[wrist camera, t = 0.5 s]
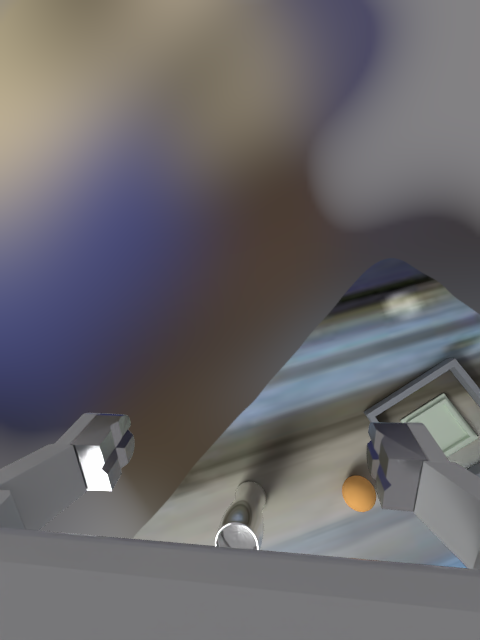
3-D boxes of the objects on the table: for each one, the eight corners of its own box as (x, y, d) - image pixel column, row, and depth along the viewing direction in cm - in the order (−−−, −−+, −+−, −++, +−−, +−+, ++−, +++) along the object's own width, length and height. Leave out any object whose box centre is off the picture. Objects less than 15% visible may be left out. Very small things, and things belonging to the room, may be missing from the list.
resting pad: (477, 437, 53) (481, 439, 52) (432, 464, 54) (435, 467, 53) (442, 392, 55) (446, 393, 54) (399, 420, 56) (402, 421, 54)
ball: (377, 492, 55) (387, 507, 50) (352, 508, 56) (358, 525, 50) (359, 464, 56) (366, 477, 51) (333, 480, 57) (338, 494, 51)
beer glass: (268, 480, 58) (260, 523, 44) (268, 518, 58) (260, 576, 43) (233, 477, 60) (213, 518, 45) (232, 514, 59) (212, 569, 44)
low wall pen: (518, 446, 52) (529, 451, 50) (427, 501, 54) (433, 508, 51) (447, 358, 55) (455, 358, 53) (363, 412, 57) (366, 414, 54)
